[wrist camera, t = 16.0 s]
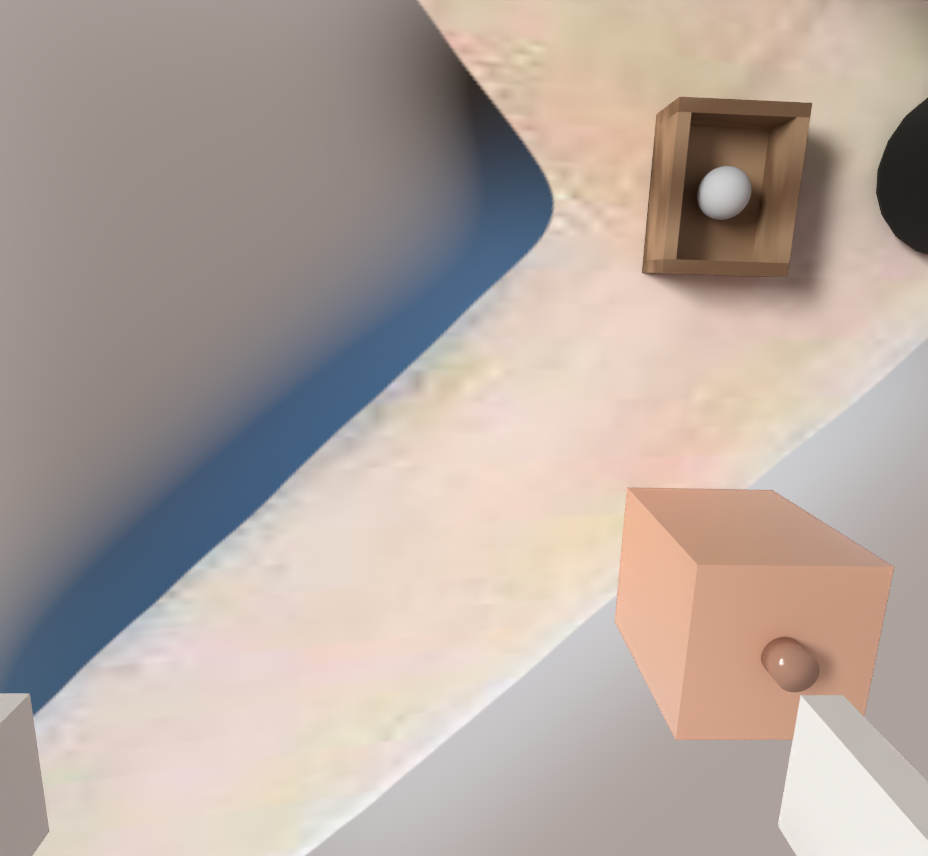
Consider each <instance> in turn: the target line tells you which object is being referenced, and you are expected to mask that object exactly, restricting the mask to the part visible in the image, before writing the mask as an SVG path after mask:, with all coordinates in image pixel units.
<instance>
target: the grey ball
mask: <svg viewBox="0 0 928 856" xmlns="http://www.w3.org/2000/svg"><path fill="white" fill-rule="evenodd" d="M750 196H751V183H750V180H749V178H748V176H747V175H746V173H745V172H744V171H742V170H741V169H739V168H737V167H733V166H722V167H718V168H716V169H714V170H712V171H710V172H709V173H708V174H707V175H706V176H705V177H704V178H703V179H702V181H701V183H700V185H699V187H698V190H697V202H698V205H699V208H700V209H701V211H702V212H703V213H704V214H705V215H706V216H708V217H710V218H713V219H717V220H724V219H729V218H732V217H734V216H736V215H737V214H739V213H740V212H741V211H742V210H743V209H744V208H745V207H746V205H747V204H748V202H749V199H750Z"/></svg>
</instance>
